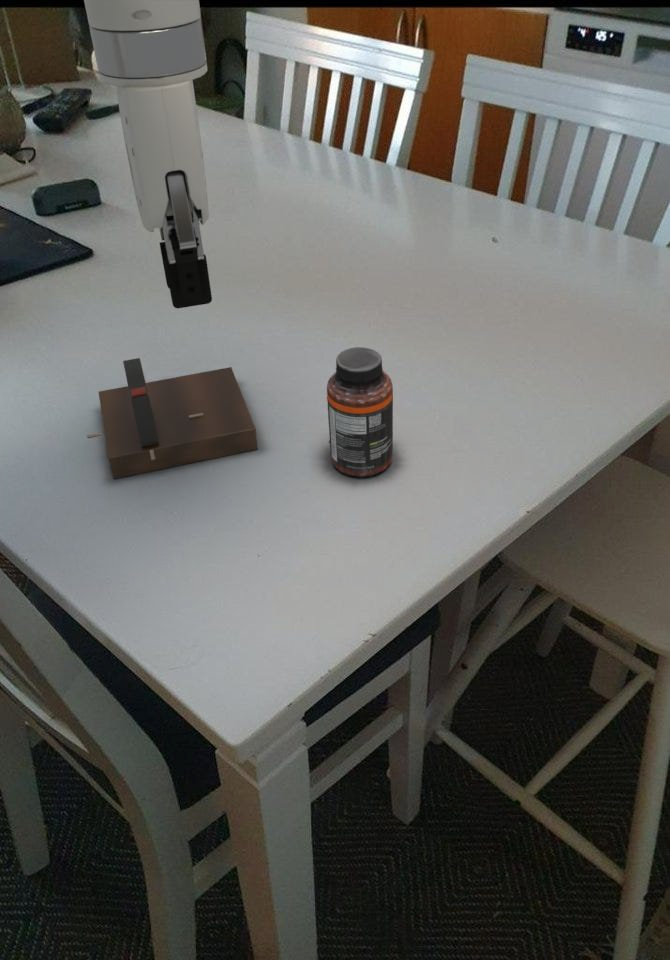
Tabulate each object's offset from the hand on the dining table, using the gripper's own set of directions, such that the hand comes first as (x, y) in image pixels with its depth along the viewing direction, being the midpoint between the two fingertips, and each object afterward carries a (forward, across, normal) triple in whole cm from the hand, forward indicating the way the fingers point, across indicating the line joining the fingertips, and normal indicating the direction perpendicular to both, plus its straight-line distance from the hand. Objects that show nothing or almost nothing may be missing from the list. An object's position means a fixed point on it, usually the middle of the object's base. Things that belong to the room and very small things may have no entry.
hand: (189, 293), depth 68 cm
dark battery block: (+15, -4, -6) cm, 16 cm away
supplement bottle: (+17, +5, +13) cm, 23 cm away
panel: (+17, -5, -4) cm, 18 cm away
